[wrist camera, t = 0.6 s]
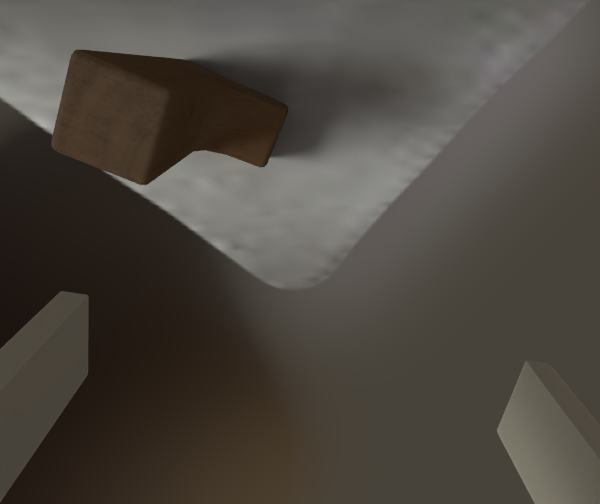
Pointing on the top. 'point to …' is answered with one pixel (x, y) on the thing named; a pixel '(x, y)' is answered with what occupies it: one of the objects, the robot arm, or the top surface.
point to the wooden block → (158, 115)
